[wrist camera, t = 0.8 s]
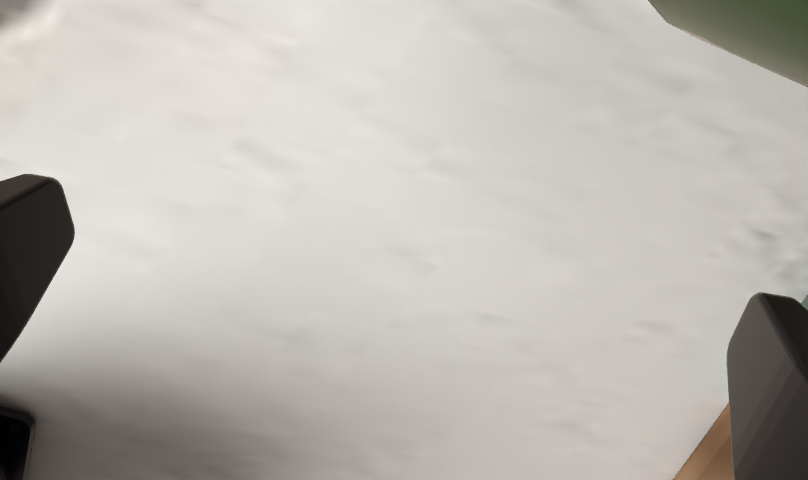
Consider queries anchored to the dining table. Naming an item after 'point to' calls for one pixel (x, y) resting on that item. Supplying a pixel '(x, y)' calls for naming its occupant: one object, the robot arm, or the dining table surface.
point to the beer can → (748, 30)
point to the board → (714, 451)
